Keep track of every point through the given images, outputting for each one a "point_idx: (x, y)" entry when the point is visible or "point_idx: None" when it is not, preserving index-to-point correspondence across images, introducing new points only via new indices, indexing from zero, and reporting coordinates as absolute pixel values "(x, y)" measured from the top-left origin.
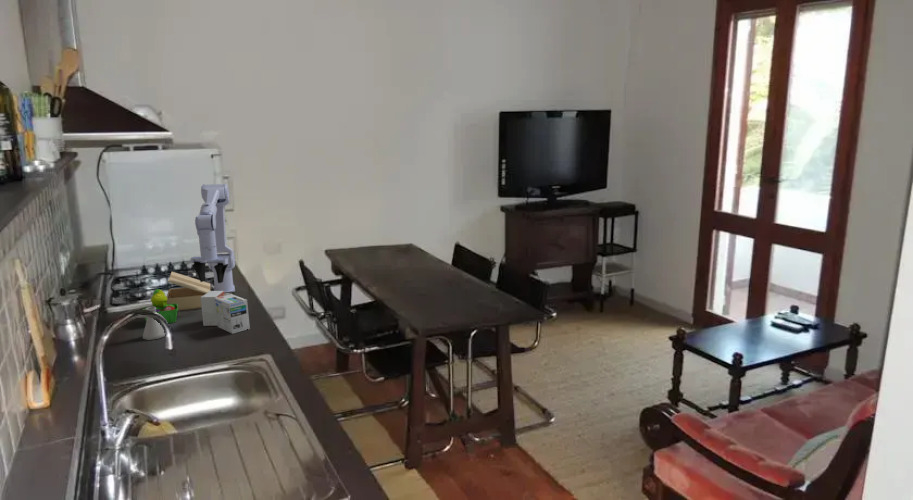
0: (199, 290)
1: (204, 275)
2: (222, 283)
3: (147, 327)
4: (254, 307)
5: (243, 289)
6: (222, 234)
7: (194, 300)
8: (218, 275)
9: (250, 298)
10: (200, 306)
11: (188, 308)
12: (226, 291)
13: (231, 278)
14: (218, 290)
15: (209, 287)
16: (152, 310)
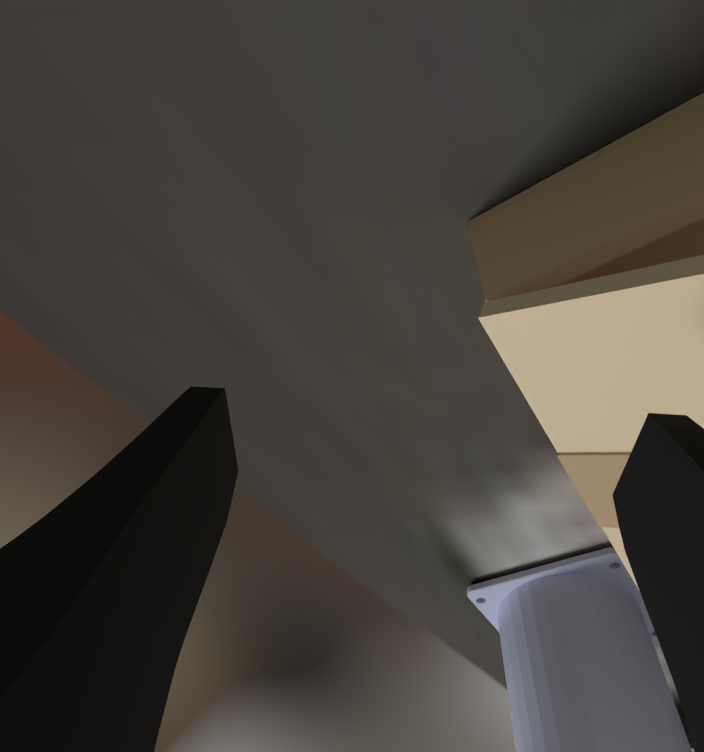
0: (649, 276)
1: (655, 594)
2: (564, 644)
3: None
4: (5, 294)
5: (431, 623)
6: None
7: (688, 163)
8: (82, 511)
9: (243, 488)
10: (582, 171)
11: None
12: (522, 579)
13: (510, 704)
14: (592, 583)
15: (594, 501)
16: None
